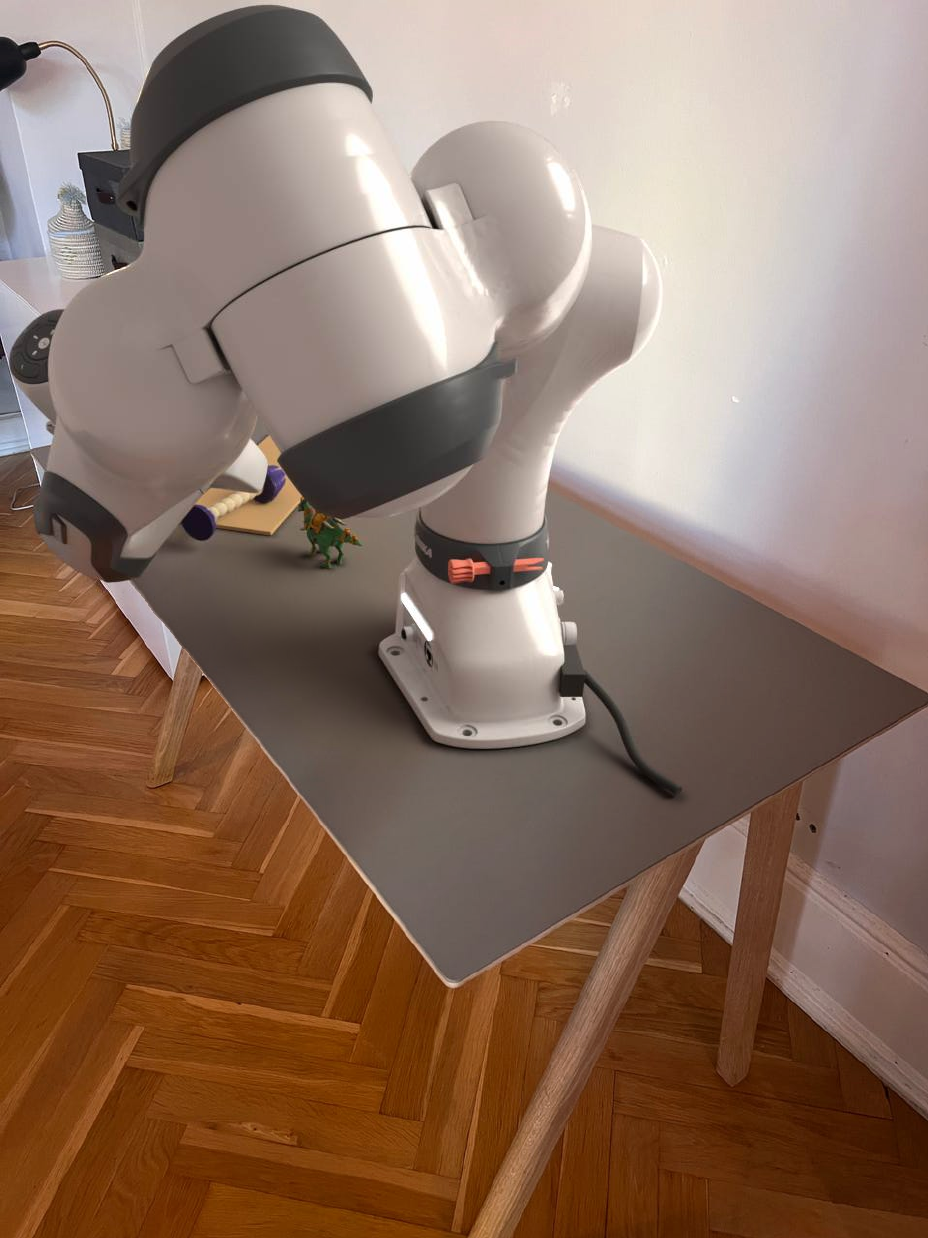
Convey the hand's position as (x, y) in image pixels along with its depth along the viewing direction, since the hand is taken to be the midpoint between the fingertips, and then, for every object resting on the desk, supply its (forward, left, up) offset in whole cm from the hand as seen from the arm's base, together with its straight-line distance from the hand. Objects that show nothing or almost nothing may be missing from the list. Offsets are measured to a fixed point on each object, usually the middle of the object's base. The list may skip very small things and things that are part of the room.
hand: (194, 485), depth 100 cm
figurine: (-5, -14, -8) cm, 17 cm away
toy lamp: (0, 0, -5) cm, 5 cm away
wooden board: (+18, -9, -8) cm, 22 cm away
